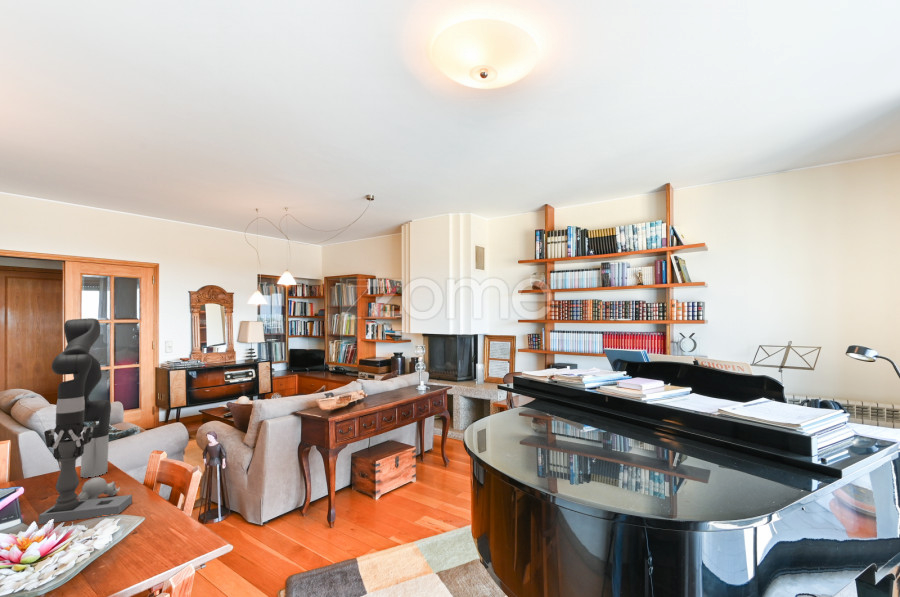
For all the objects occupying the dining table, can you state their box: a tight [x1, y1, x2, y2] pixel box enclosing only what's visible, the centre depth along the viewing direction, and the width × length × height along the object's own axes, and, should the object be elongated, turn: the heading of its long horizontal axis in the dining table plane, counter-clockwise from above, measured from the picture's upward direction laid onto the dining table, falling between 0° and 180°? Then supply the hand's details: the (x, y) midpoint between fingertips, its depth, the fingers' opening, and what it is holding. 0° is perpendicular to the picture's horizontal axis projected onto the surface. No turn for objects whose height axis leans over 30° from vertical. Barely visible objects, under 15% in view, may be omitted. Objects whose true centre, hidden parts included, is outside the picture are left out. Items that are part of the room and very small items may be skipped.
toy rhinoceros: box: [77, 476, 121, 501], centre depth 157 cm, size 7×12×8 cm, turn 138°
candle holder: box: [54, 439, 80, 512], centre depth 144 cm, size 6×6×25 cm
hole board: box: [38, 494, 133, 525], centre depth 145 cm, size 10×23×3 cm, turn 106°
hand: (68, 457), depth 145 cm, fingers closed on candle holder, 5 cm apart
